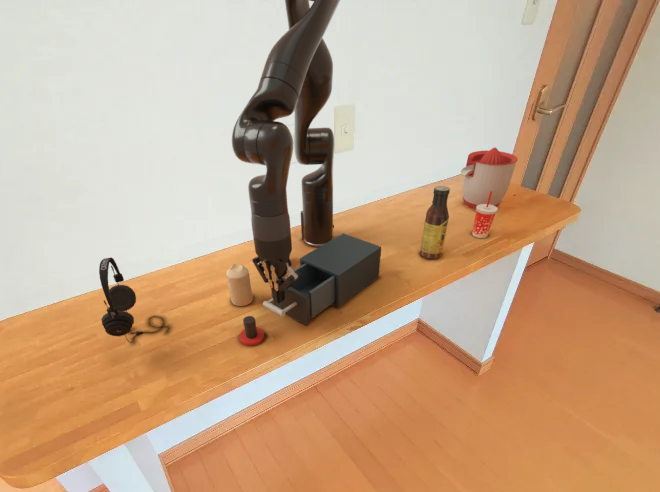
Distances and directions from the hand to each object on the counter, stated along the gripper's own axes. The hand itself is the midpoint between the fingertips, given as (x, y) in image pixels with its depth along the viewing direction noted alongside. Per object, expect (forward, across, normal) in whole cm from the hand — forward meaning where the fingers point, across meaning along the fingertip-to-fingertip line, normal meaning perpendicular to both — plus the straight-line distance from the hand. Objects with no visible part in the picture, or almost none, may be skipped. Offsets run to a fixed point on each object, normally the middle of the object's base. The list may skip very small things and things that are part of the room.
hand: (279, 300), depth 87 cm
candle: (+7, +15, 0) cm, 16 cm away
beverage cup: (+7, -17, -72) cm, 75 cm away
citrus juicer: (+8, -7, -94) cm, 95 cm away
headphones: (+7, +22, +24) cm, 33 cm away
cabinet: (+7, 0, -22) cm, 23 cm away
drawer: (+6, 0, -8) cm, 10 cm away
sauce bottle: (+7, -11, -51) cm, 53 cm away
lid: (+7, +2, +8) cm, 11 cm away
